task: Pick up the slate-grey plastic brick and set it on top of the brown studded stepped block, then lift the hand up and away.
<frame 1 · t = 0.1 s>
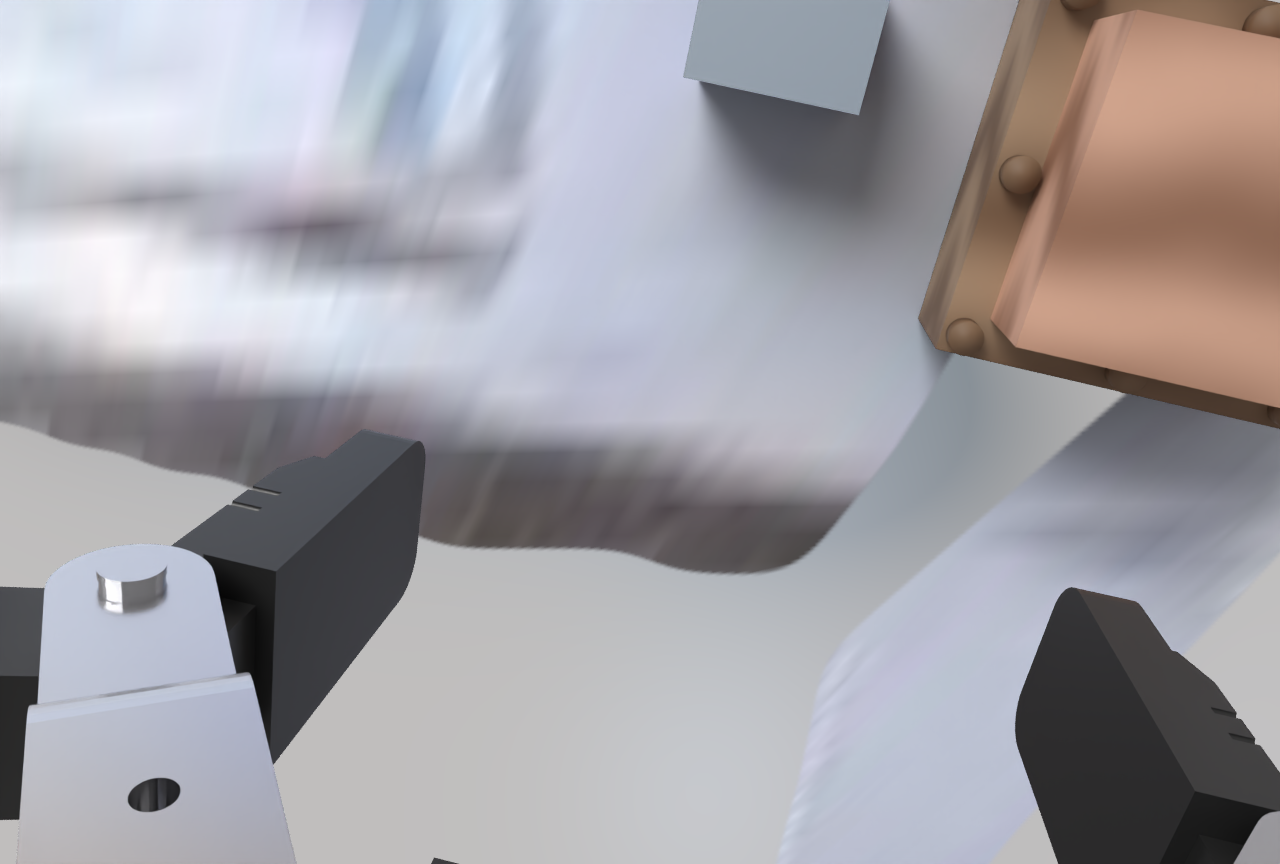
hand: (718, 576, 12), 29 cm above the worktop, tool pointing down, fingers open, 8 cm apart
brown studded stepped block: (1136, 195, 36), on the worktop
grey brick: (787, 35, 36), on the worktop
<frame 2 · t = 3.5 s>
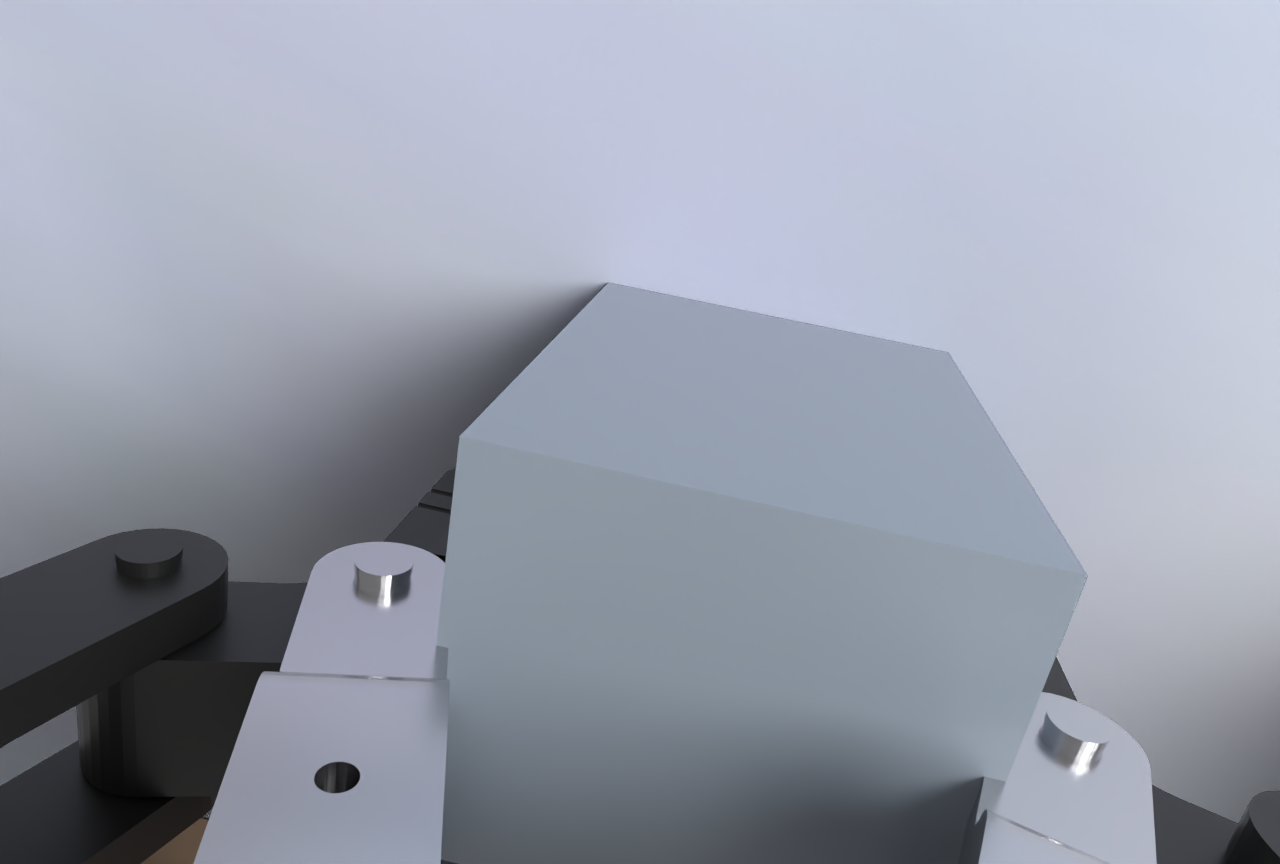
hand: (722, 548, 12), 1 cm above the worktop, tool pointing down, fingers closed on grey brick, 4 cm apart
grey brick: (728, 520, 13), on the worktop, touching gripper
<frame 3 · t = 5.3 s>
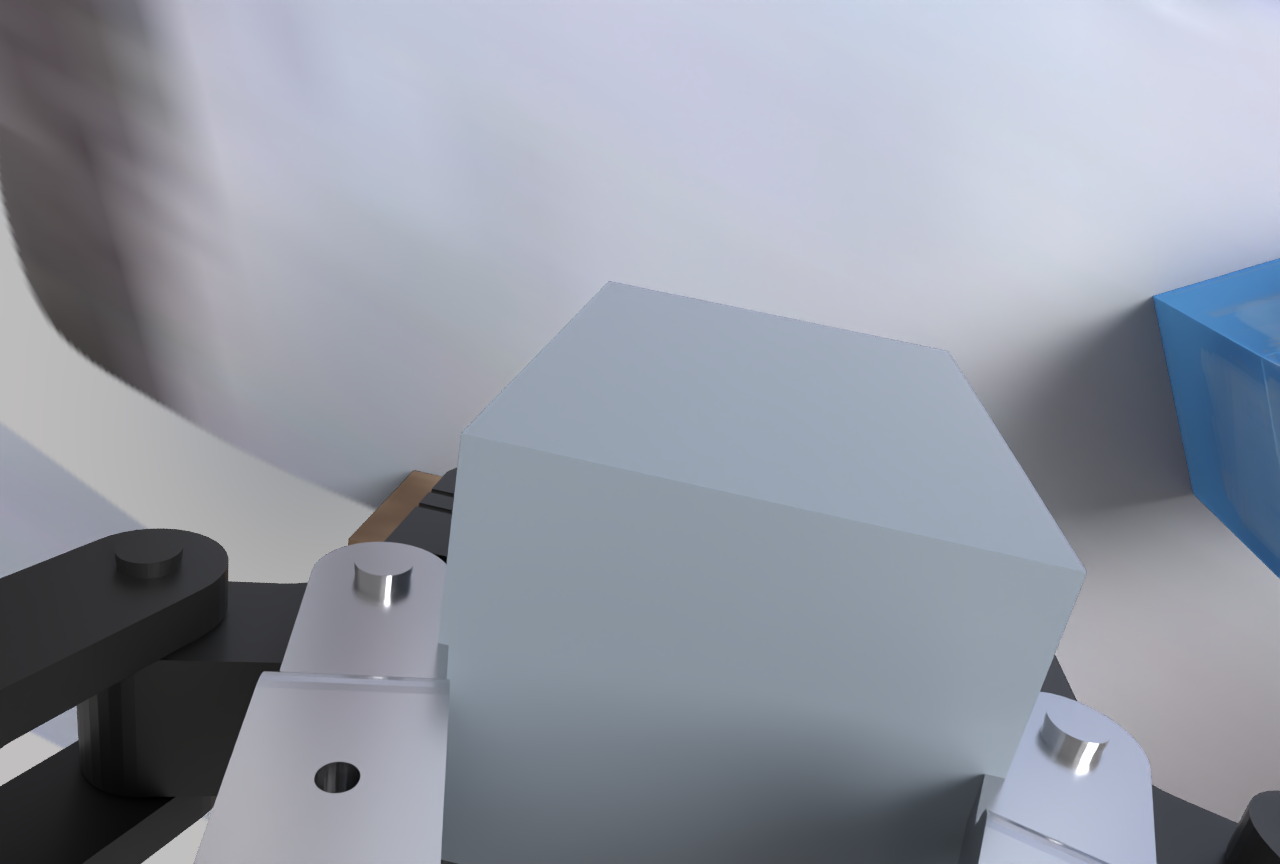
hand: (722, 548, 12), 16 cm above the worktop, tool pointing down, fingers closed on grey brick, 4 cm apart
brown studded stepped block: (576, 678, 33), on the worktop
grey brick: (729, 518, 13), point 15 cm above the worktop, touching gripper
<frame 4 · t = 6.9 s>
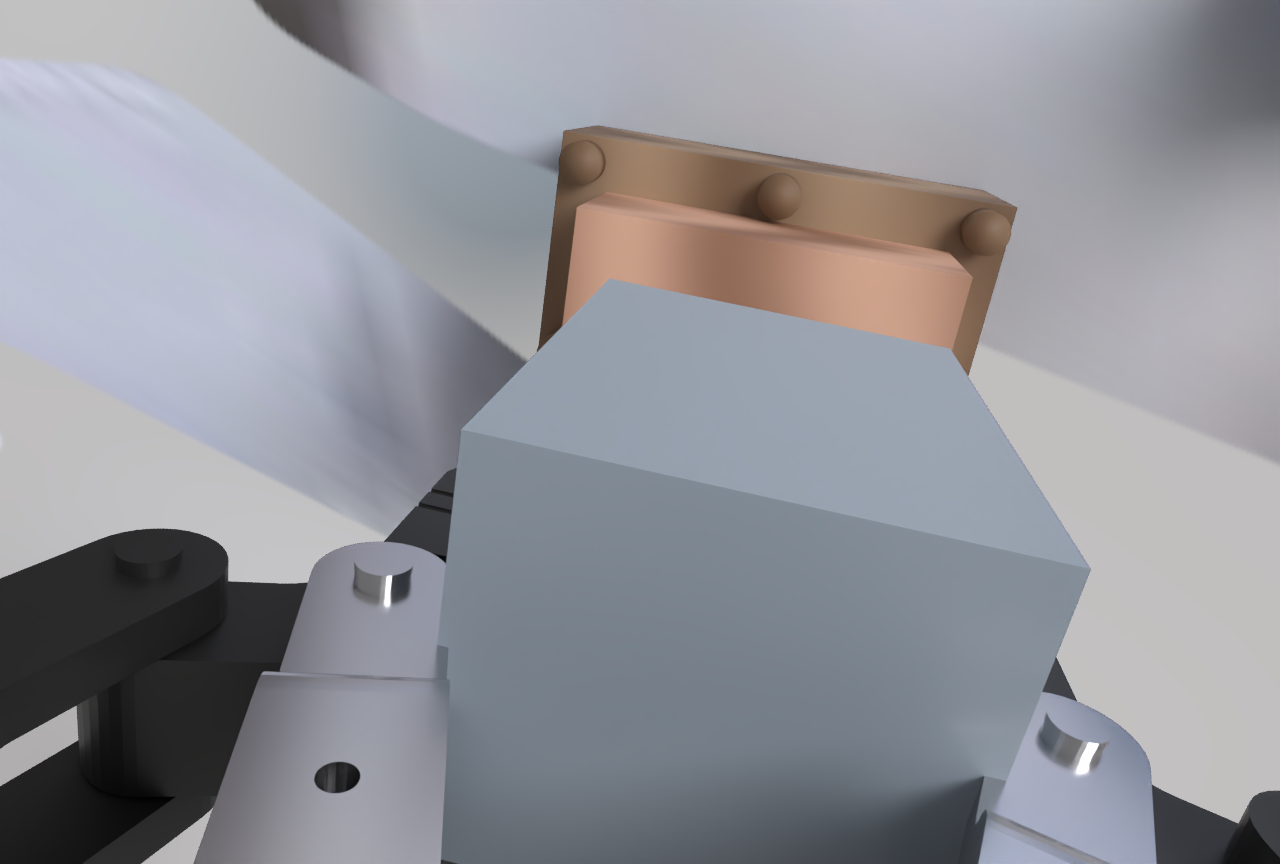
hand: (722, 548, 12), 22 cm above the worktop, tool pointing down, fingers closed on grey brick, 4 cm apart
brown studded stepped block: (749, 343, 34), on the worktop
grey brick: (729, 517, 13), point 21 cm above the worktop, touching gripper
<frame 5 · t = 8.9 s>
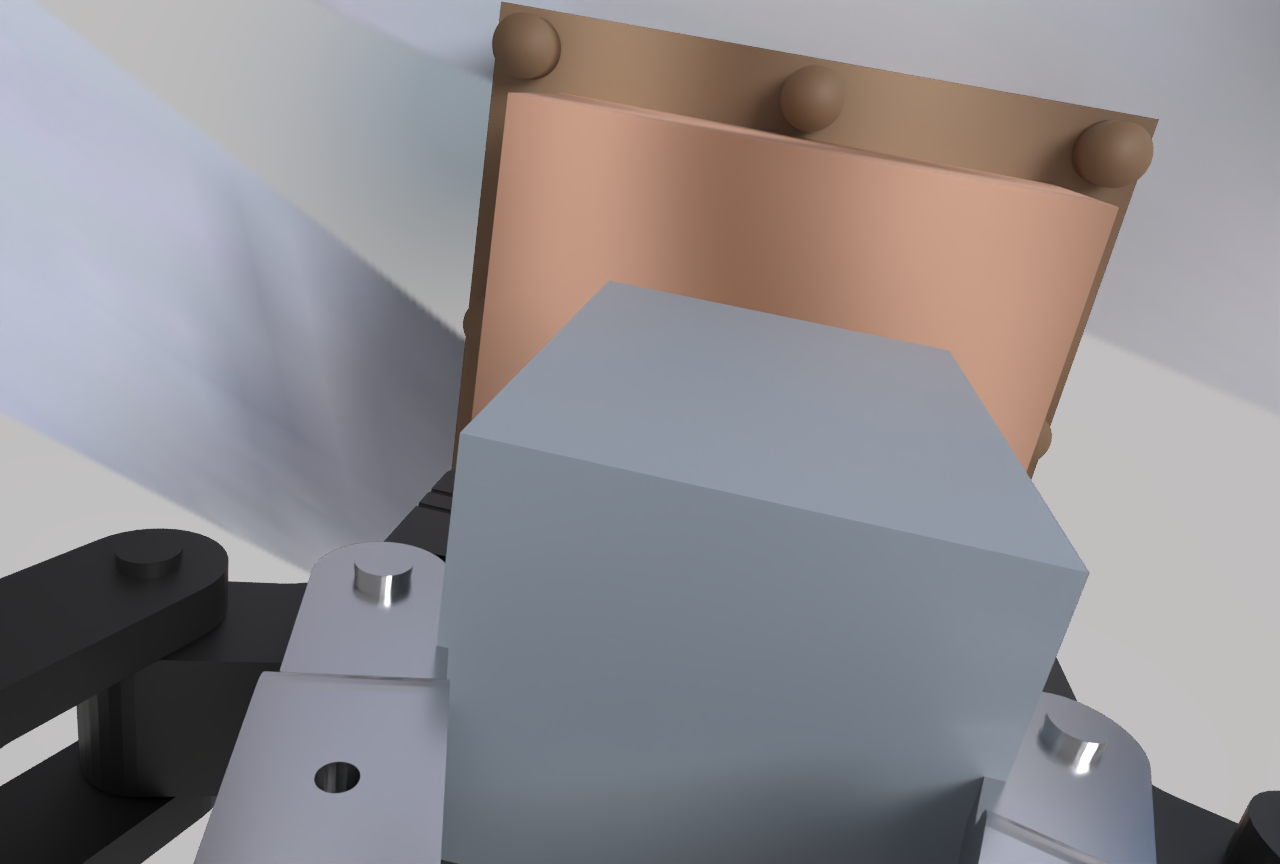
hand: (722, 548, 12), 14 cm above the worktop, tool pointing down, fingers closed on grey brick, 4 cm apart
brown studded stepped block: (758, 320, 25), on the worktop
grey brick: (729, 518, 13), point 13 cm above the worktop, touching gripper
when the fingers open (11 cm above the worktop, at t = 10.4 s): grey brick drops 1 cm, resting on brown studded stepped block.
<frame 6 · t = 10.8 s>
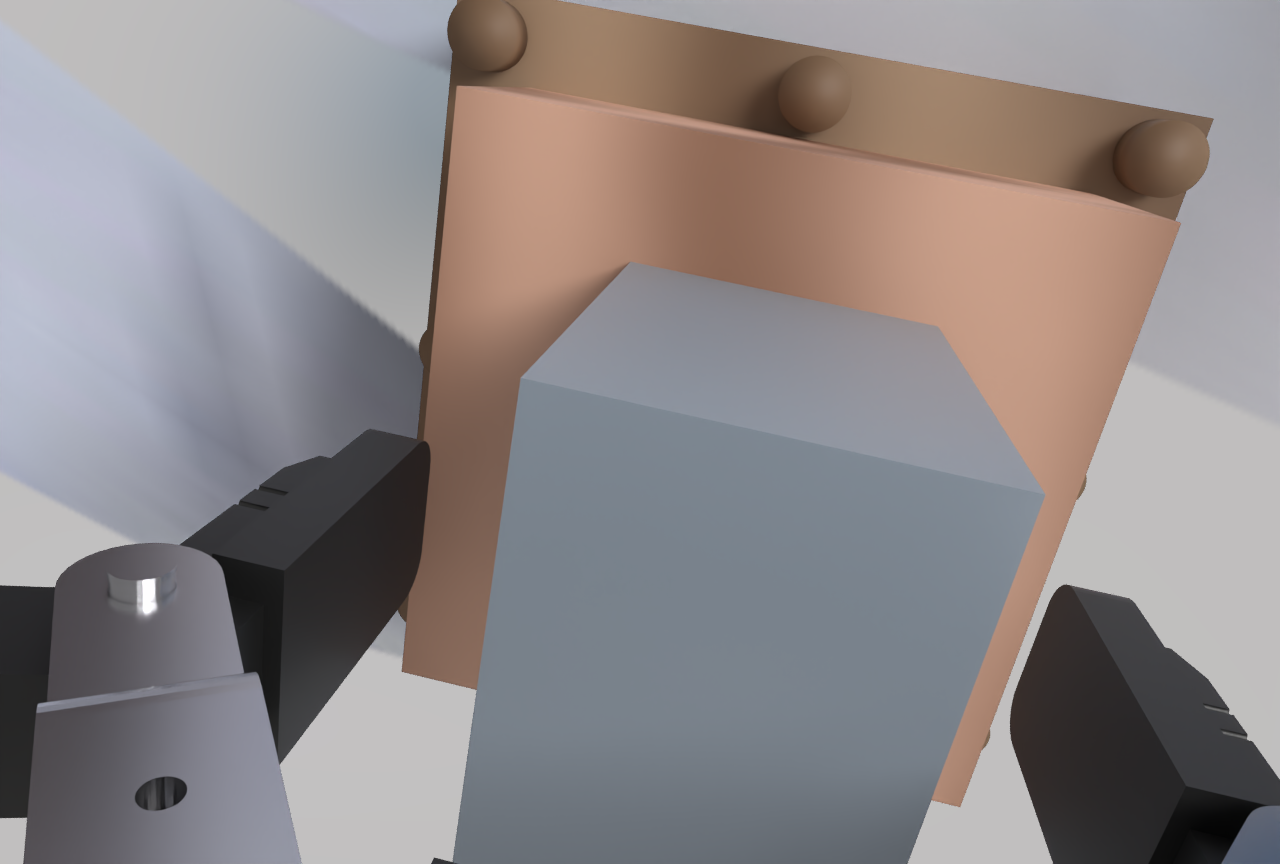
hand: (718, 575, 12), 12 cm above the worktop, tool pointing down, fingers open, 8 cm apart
brown studded stepped block: (753, 339, 23), on the worktop
grey brick: (737, 480, 15), point 9 cm above the worktop, touching brown studded stepped block
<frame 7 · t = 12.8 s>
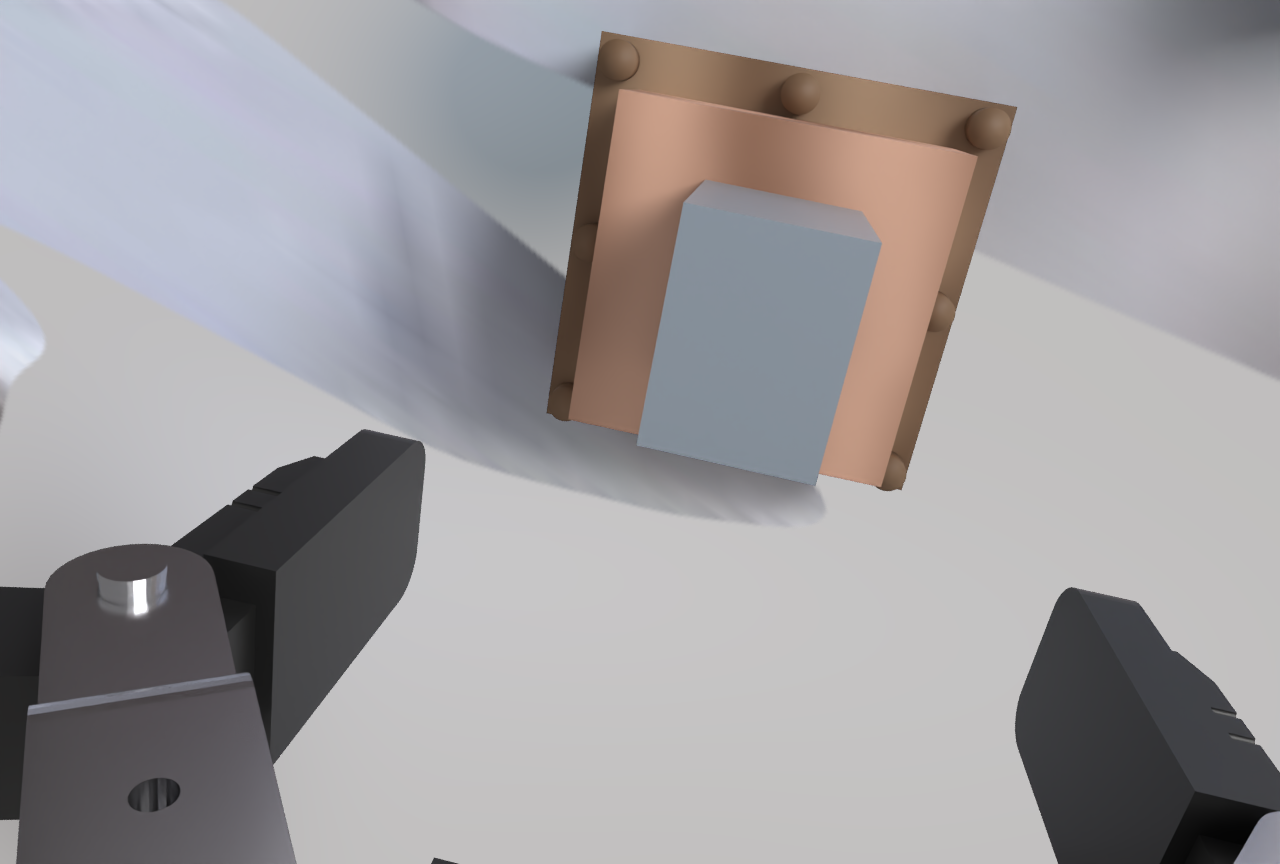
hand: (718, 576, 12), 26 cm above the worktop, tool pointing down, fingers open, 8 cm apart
brown studded stepped block: (764, 250, 36), on the worktop
grey brick: (759, 297, 27), point 9 cm above the worktop, touching brown studded stepped block
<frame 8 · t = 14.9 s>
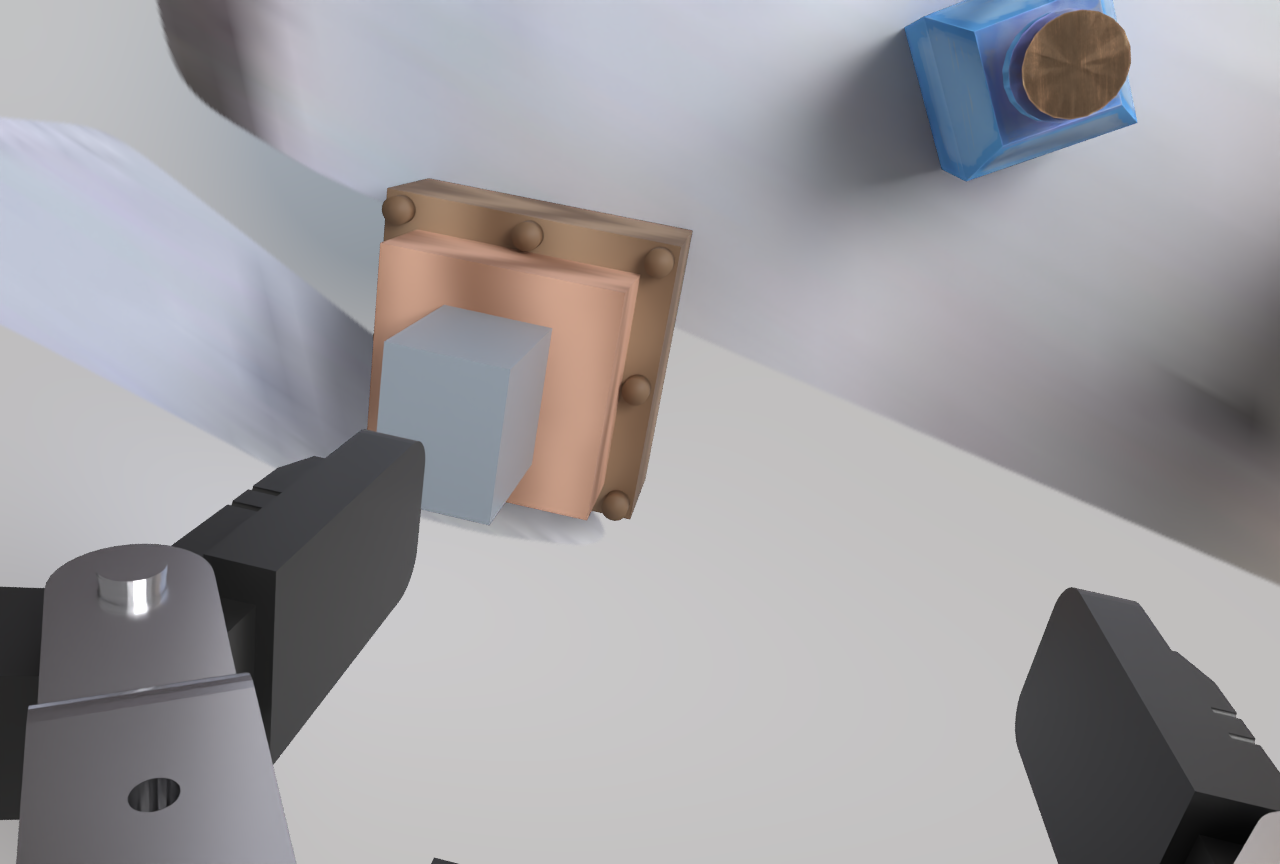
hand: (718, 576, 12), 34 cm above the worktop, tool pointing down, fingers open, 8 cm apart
perfume bottle: (994, 73, 40), on the worktop
brown studded stepped block: (541, 334, 47), on the worktop
grey brick: (489, 386, 38), point 9 cm above the worktop, touching brown studded stepped block
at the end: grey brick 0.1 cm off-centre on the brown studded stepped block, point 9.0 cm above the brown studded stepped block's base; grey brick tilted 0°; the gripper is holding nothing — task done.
